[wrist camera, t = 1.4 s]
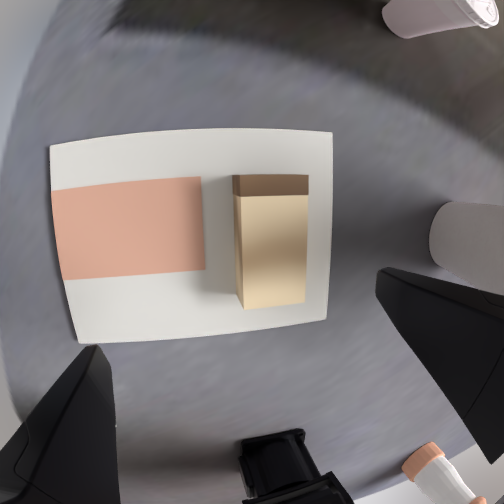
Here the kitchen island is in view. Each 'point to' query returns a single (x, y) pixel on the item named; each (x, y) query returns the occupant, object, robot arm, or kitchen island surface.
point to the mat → (177, 230)
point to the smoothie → (437, 15)
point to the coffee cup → (470, 243)
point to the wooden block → (270, 238)
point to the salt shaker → (438, 477)
